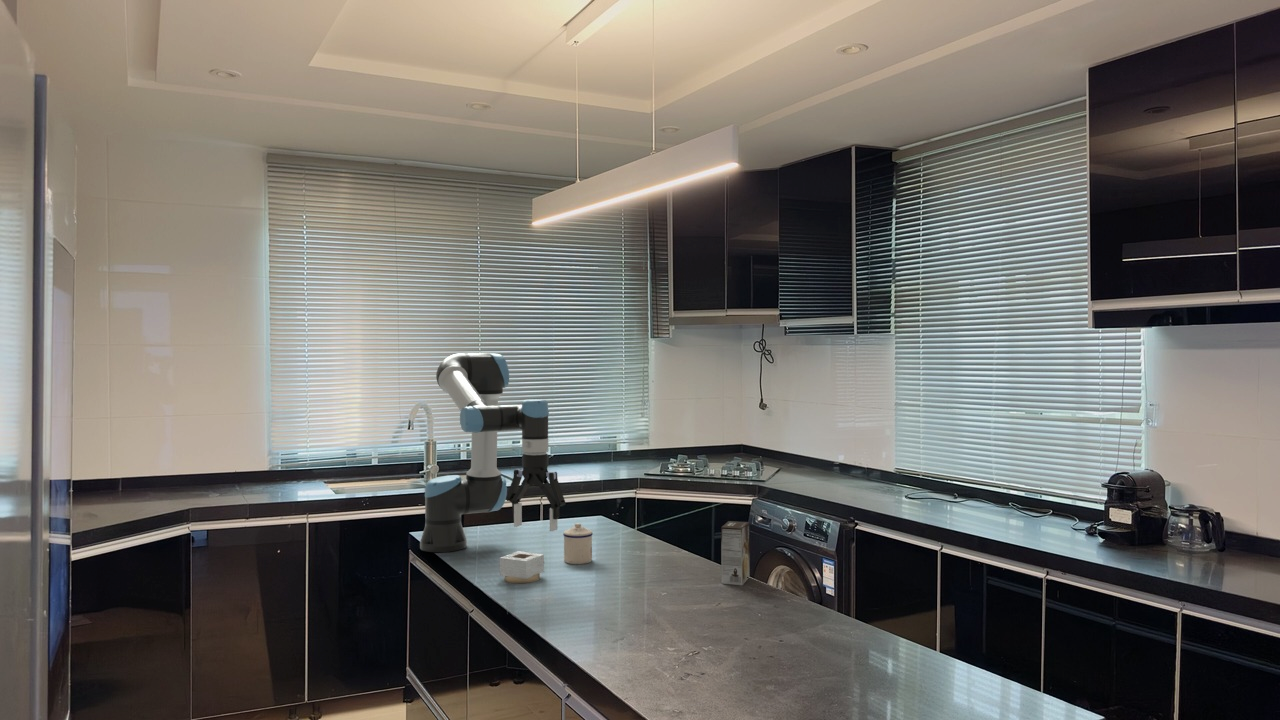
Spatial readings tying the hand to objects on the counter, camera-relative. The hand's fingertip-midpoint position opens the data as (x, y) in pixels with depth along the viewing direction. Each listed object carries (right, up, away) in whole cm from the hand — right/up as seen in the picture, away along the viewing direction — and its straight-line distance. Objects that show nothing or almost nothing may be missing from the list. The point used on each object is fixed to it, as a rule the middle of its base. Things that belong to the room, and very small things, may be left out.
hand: (535, 528), depth 245 cm
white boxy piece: (-4, -13, -1) cm, 13 cm away
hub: (-4, -14, -1) cm, 15 cm away
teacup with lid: (+10, -14, +21) cm, 27 cm away
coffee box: (+57, -14, -4) cm, 59 cm away
